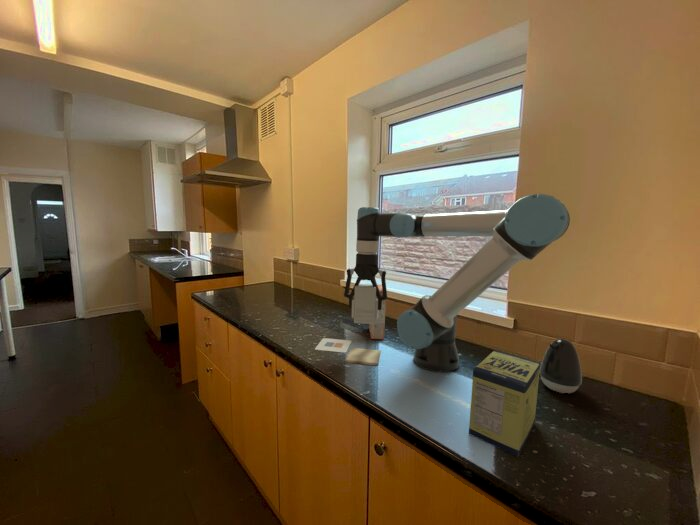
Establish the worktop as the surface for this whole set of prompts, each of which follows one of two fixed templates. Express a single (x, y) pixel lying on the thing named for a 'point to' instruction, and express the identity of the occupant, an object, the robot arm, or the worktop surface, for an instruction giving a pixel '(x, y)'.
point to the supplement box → (364, 304)
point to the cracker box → (378, 321)
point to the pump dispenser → (561, 367)
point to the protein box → (504, 400)
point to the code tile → (333, 345)
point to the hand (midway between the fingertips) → (364, 317)
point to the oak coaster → (364, 356)
